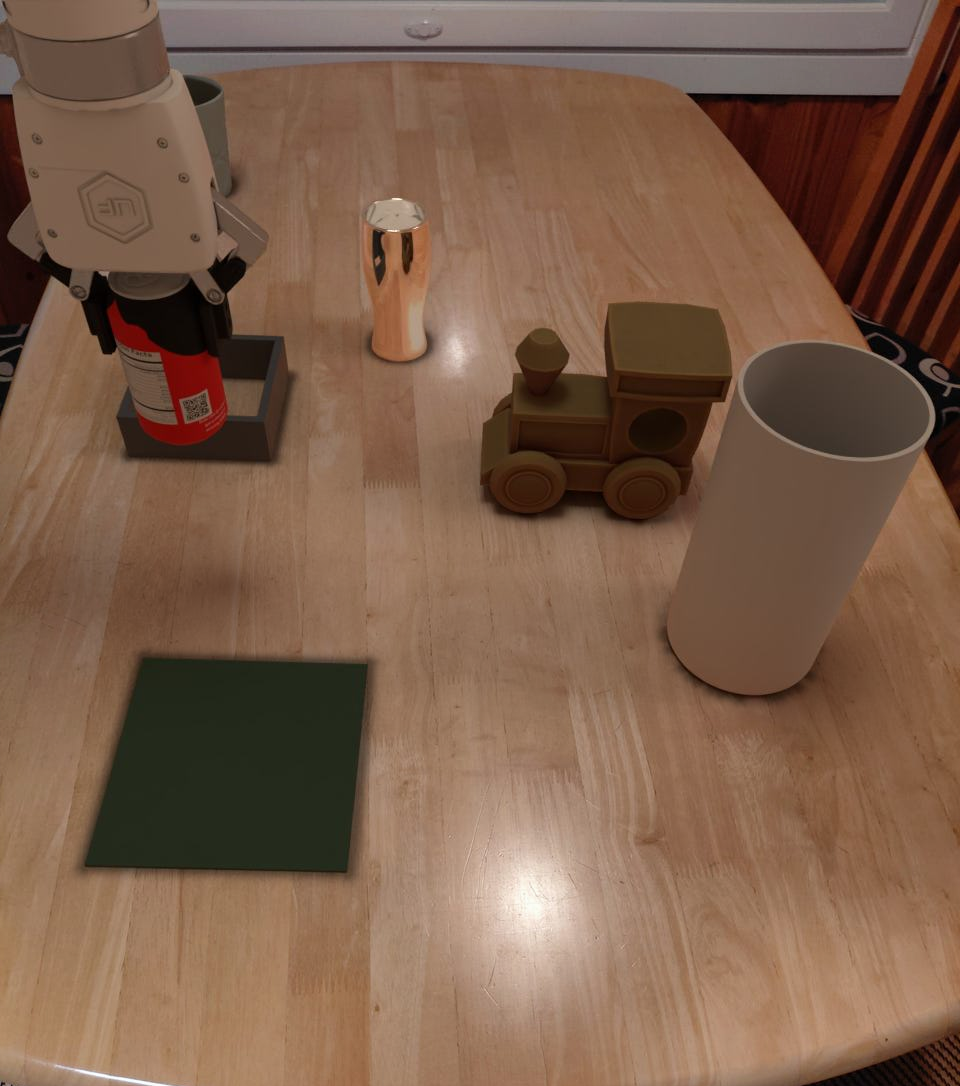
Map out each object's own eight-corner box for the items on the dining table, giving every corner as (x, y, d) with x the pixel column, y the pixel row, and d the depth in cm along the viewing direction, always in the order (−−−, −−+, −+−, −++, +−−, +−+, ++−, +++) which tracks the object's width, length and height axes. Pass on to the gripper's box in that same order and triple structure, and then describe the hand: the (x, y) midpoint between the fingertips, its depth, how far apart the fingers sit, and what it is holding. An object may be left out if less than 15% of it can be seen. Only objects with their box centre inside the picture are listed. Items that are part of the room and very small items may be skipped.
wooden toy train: (680, 448, 97) (719, 299, 84) (693, 529, 90) (737, 380, 77) (481, 438, 96) (489, 287, 83) (478, 518, 89) (486, 367, 76)
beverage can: (245, 432, 70) (217, 282, 61) (165, 464, 68) (122, 313, 58) (206, 387, 73) (173, 238, 64) (127, 416, 71) (81, 266, 62)
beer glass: (380, 371, 103) (373, 237, 91) (358, 335, 107) (349, 202, 95) (440, 357, 105) (441, 224, 93) (417, 322, 109) (415, 191, 97)
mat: (85, 867, 66) (84, 865, 66) (144, 660, 78) (143, 657, 77) (347, 873, 67) (346, 871, 67) (367, 666, 78) (367, 663, 78)
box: (129, 458, 93) (115, 416, 89) (159, 372, 101) (148, 330, 97) (271, 463, 93) (264, 421, 89) (289, 377, 101) (283, 335, 98)
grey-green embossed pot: (160, 210, 122) (137, 110, 112) (157, 172, 128) (135, 74, 118) (241, 204, 123) (226, 105, 114) (235, 167, 129) (220, 70, 120)
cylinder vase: (663, 577, 86) (732, 331, 66) (804, 592, 85) (915, 349, 66) (666, 691, 78) (744, 450, 58) (821, 707, 77) (953, 470, 58)
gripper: (-98, 76, 49) (20, 374, 63) (248, 89, 49) (288, 381, 63) (-49, 20, 53) (51, 309, 67) (266, 32, 54) (300, 316, 68)
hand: (165, 342), depth 65 cm, fingers closed on beverage can, 6 cm apart
